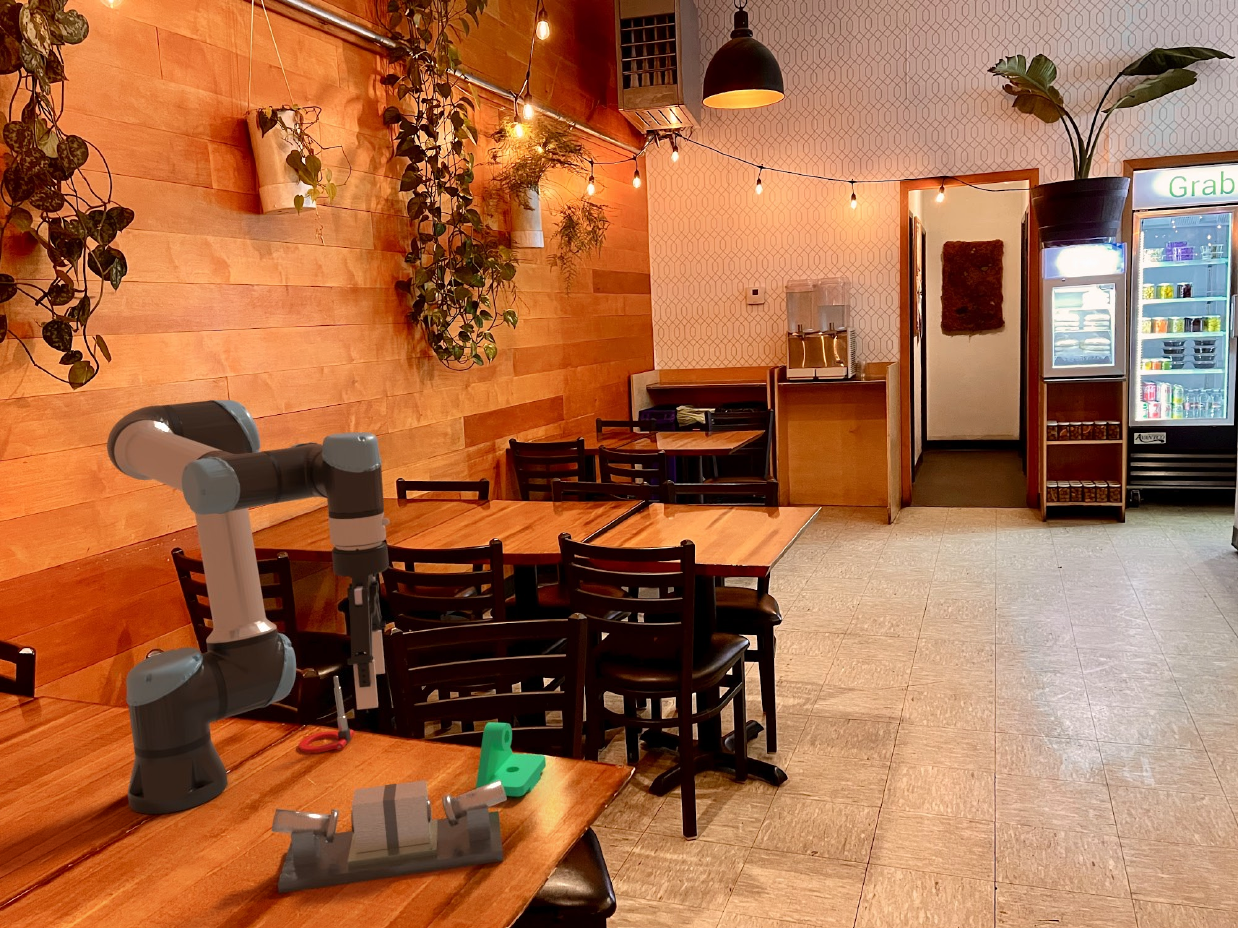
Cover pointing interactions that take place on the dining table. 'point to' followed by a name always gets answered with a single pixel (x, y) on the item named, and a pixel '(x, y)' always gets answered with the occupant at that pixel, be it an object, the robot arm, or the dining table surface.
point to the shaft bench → (335, 861)
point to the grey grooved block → (391, 816)
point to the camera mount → (507, 762)
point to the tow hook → (342, 735)
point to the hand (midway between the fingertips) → (371, 689)
